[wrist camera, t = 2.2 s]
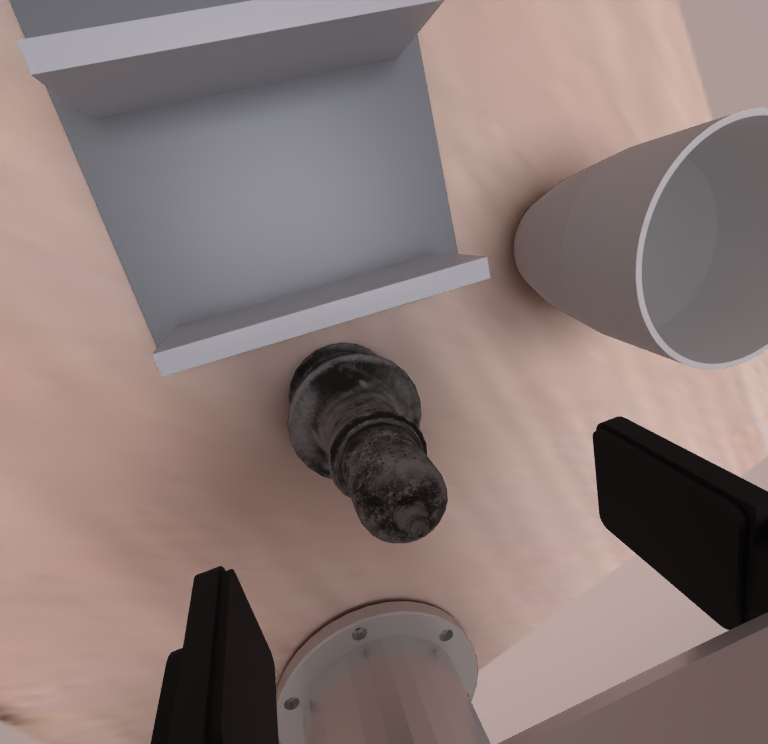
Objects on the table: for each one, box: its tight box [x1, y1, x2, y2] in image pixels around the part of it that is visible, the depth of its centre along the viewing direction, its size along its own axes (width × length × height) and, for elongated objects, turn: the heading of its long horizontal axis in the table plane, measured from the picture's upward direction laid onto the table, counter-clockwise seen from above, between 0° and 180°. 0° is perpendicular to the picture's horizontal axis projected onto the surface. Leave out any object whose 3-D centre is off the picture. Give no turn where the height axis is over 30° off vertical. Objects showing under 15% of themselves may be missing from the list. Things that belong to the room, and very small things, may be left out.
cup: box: [514, 108, 768, 369], centre depth 20 cm, size 8×8×10 cm
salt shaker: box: [288, 343, 448, 543], centre depth 18 cm, size 6×6×12 cm
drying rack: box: [10, 0, 491, 377], centre depth 16 cm, size 18×14×6 cm
